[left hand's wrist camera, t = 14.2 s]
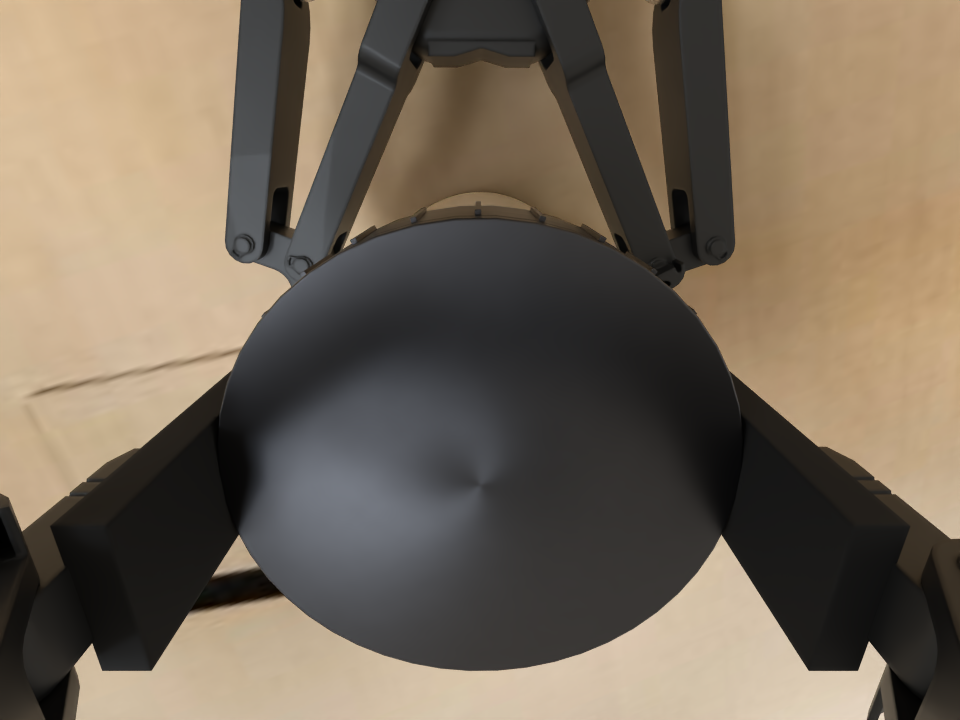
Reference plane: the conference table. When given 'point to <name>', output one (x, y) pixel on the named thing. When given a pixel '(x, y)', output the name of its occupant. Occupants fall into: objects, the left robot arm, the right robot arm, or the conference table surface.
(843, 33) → the conference table surface
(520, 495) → the lid
